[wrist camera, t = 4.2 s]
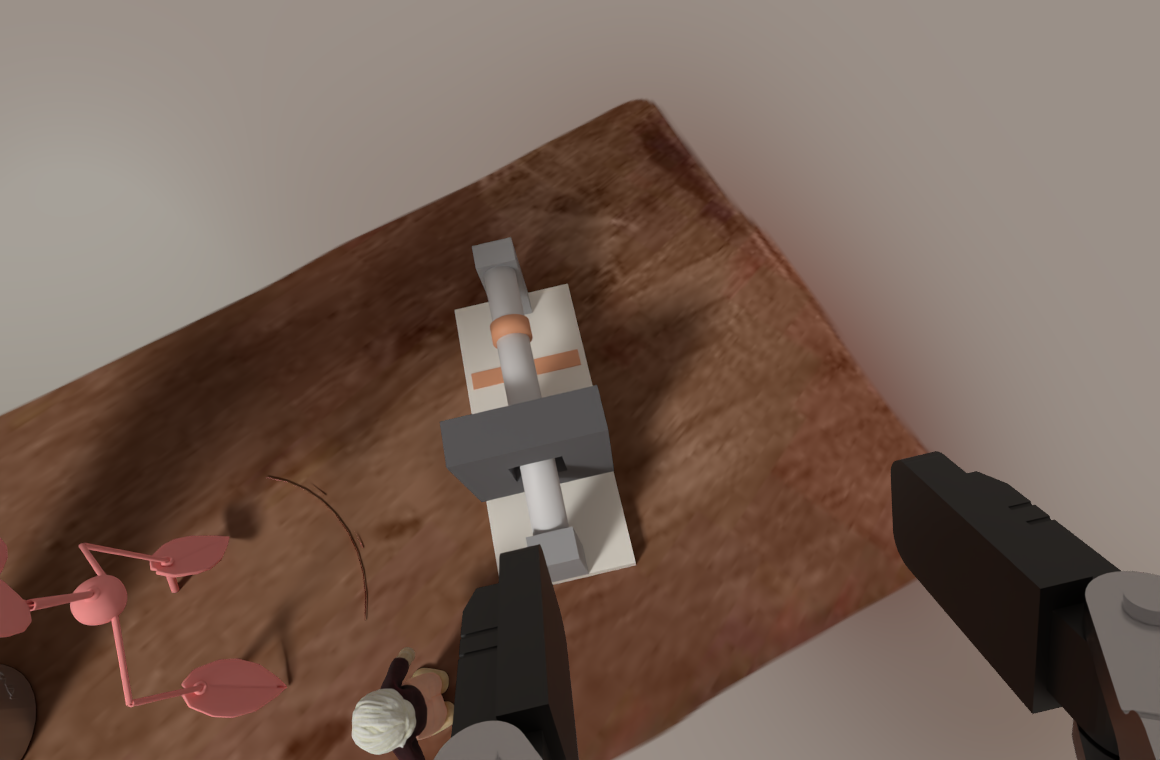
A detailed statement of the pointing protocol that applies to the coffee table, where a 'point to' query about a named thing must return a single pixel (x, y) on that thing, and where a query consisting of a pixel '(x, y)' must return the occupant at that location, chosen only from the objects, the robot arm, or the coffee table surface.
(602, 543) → the pipe stand
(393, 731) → the grandmother figurine
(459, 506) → the coffee table surface
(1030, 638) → the robot arm
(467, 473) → the grey plate with hole
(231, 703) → the flower
